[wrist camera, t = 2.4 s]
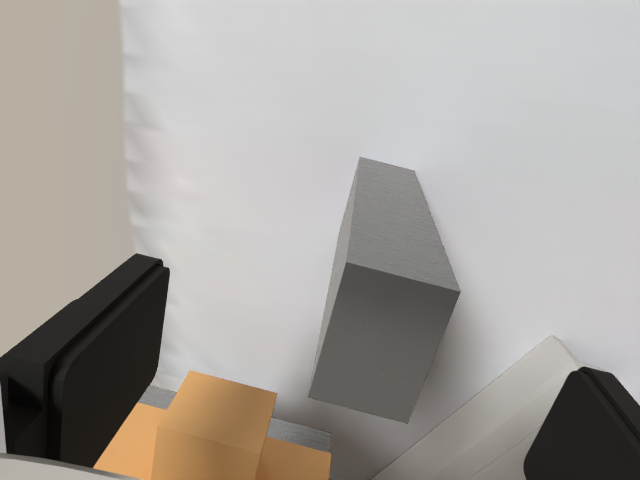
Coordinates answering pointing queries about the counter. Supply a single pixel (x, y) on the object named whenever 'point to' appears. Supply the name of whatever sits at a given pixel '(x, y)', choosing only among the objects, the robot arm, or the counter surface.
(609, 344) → the counter surface
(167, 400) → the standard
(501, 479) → the white curved casing
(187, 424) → the bracket
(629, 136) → the counter surface
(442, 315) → the grey rectangular bar
